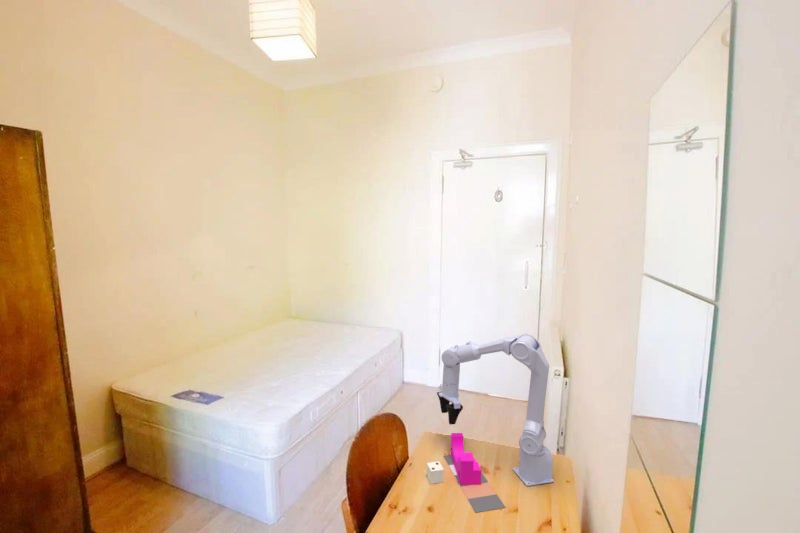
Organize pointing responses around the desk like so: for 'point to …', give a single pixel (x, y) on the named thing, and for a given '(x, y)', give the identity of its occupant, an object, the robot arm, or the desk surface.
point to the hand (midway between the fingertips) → (448, 417)
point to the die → (435, 472)
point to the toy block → (464, 462)
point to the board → (478, 492)
